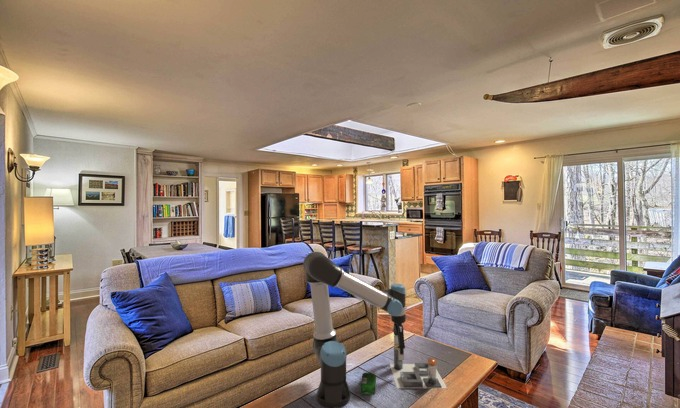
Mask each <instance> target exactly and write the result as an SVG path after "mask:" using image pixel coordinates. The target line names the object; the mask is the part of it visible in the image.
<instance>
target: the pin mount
mask: <svg viewBox="0 0 680 408" xmlns="http://www.w3.org/2000/svg"><path fill="white" fill-rule="evenodd" d="M400 377H401V380H402V383H403V386H404V387H406V388H405V389H424V388H423V381H422V379H421V377H420V375H419V373H418V372H400ZM407 379H415V380H407Z"/></svg>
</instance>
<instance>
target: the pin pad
mask: <svg viewBox="0 0 680 408" xmlns="http://www.w3.org/2000/svg"><path fill="white" fill-rule="evenodd" d="M423 380H424V382H425V384H426V387H427V388H426V389H443V388H442V386H441V384H440V383H439V381H438V379H437V378H436V384H435V385H432V384H429V383H428V378H423Z"/></svg>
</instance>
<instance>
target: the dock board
mask: <svg viewBox="0 0 680 408" xmlns="http://www.w3.org/2000/svg"><path fill="white" fill-rule="evenodd" d="M389 366H390V370H391V374H392V376H393V380H394V383H395V387H396V389H407V388H406V387H404V386H403V383H402V380H401V377H400V372H417V371H416V369H415V363H403V369H402V370H396V369H394V363H389ZM419 370H428V368H419ZM420 377H421V379H422V381H423V388H422V389H428V388H427V387H426V384H425V382H424V380H423V378H428V375H420ZM436 378H437V379H438V381H439V383H440V384H441V386H442V388H441V389H448V387H447V385H446V384H445V382H444V380H443V378H442V376H441V375H440V373H439V371H438V369H437V368H436ZM407 380H415V379H407Z"/></svg>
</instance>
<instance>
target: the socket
mask: <svg viewBox="0 0 680 408" xmlns="http://www.w3.org/2000/svg"><path fill="white" fill-rule="evenodd" d="M414 364H415V369H416V371H417V372H418V373H419V375H428V370H419V368H428V362H414Z"/></svg>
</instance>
